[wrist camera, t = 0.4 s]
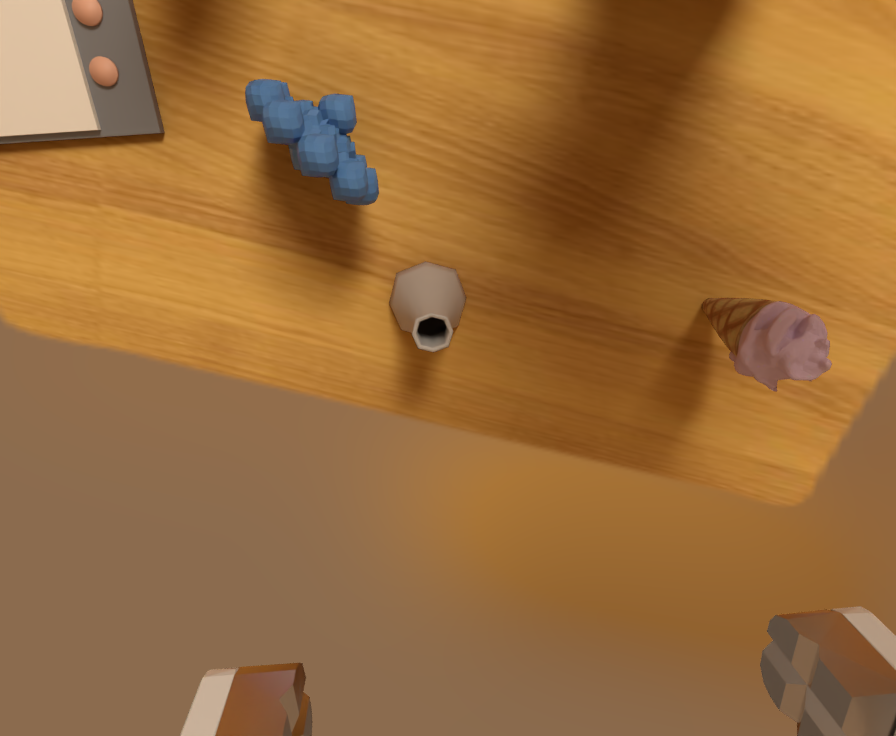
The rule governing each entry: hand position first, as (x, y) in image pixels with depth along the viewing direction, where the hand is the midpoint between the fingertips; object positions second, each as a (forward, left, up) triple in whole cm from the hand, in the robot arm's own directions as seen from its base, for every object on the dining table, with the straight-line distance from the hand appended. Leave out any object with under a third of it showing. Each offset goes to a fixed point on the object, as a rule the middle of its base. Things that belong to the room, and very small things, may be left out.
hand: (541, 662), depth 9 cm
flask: (+5, +2, -44) cm, 44 cm away
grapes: (-4, -12, -43) cm, 45 cm away
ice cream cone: (-8, +26, -43) cm, 51 cm away
